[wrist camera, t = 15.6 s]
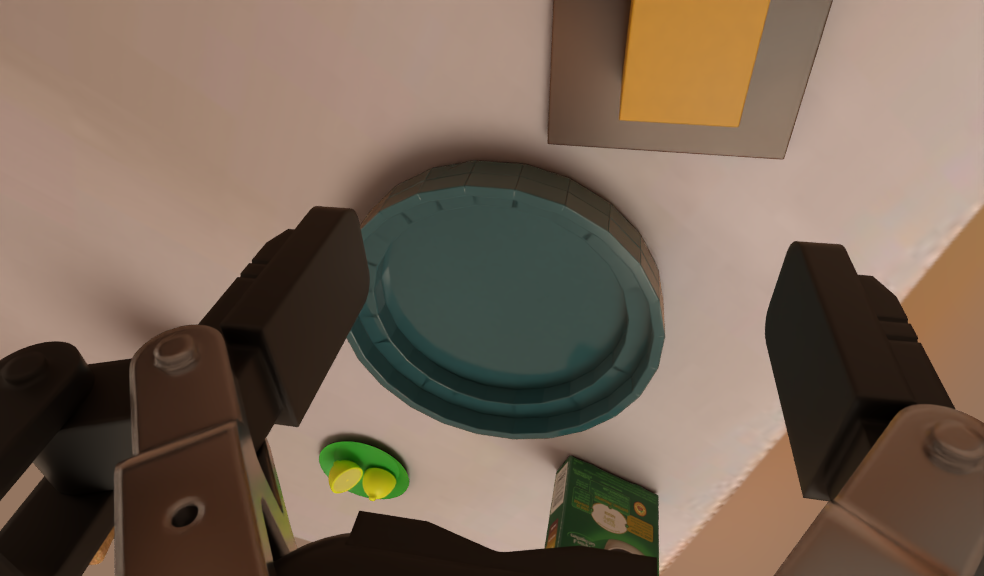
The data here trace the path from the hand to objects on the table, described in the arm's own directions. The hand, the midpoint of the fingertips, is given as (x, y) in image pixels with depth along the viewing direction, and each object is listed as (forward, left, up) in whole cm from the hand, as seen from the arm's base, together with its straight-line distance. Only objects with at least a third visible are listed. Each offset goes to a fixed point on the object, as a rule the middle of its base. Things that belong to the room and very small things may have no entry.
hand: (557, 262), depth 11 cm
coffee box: (+34, +3, -19) cm, 39 cm away
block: (-1, +3, -18) cm, 19 cm away
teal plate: (+17, -5, -19) cm, 26 cm away
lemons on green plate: (+37, -17, -19) cm, 45 cm away
